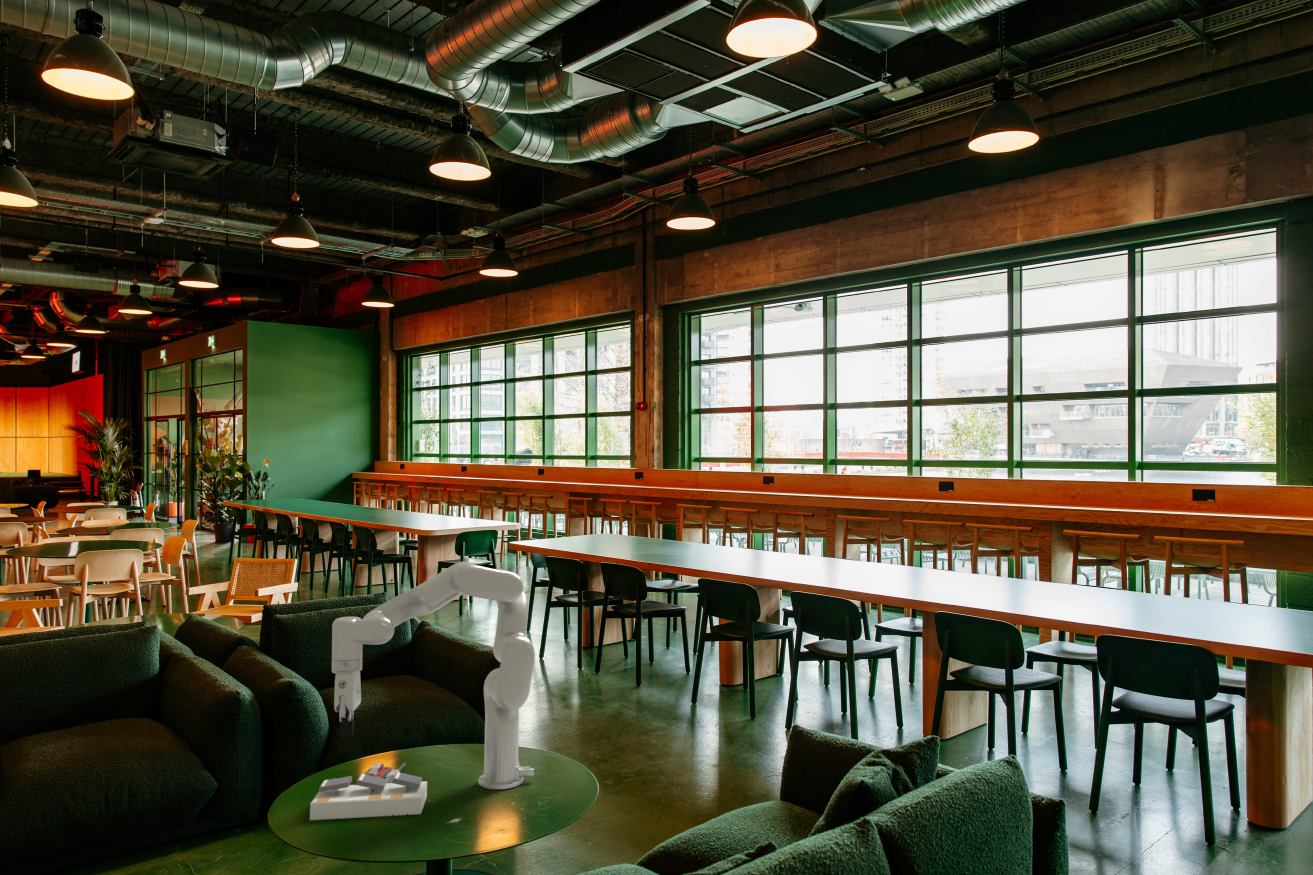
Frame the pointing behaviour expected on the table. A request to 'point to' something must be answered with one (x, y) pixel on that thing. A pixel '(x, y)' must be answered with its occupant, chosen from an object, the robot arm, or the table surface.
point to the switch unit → (368, 802)
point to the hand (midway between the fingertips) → (346, 735)
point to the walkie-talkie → (383, 772)
